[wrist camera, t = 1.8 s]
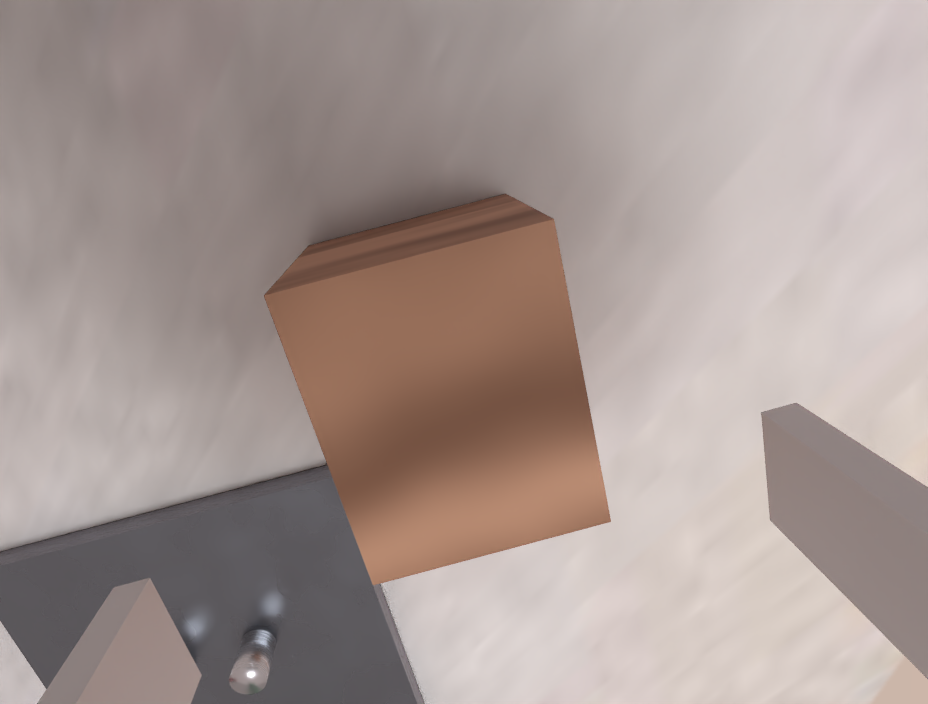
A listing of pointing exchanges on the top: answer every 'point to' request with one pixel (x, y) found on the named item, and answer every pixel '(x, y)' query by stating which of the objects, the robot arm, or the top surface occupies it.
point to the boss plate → (227, 595)
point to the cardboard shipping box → (444, 384)
